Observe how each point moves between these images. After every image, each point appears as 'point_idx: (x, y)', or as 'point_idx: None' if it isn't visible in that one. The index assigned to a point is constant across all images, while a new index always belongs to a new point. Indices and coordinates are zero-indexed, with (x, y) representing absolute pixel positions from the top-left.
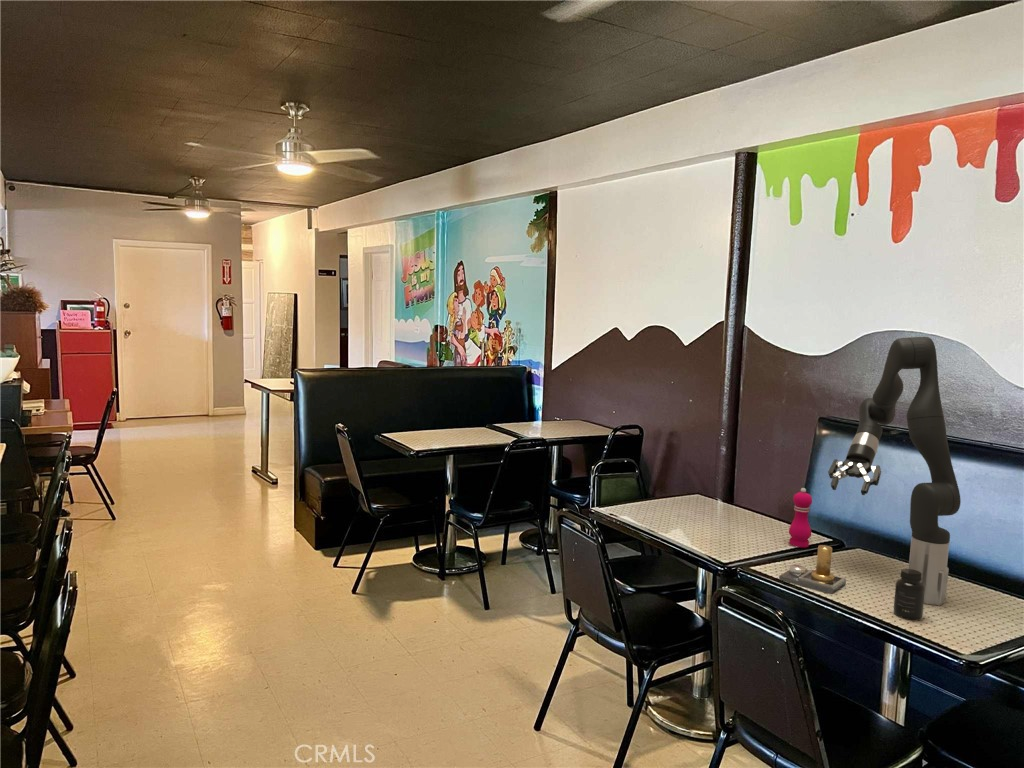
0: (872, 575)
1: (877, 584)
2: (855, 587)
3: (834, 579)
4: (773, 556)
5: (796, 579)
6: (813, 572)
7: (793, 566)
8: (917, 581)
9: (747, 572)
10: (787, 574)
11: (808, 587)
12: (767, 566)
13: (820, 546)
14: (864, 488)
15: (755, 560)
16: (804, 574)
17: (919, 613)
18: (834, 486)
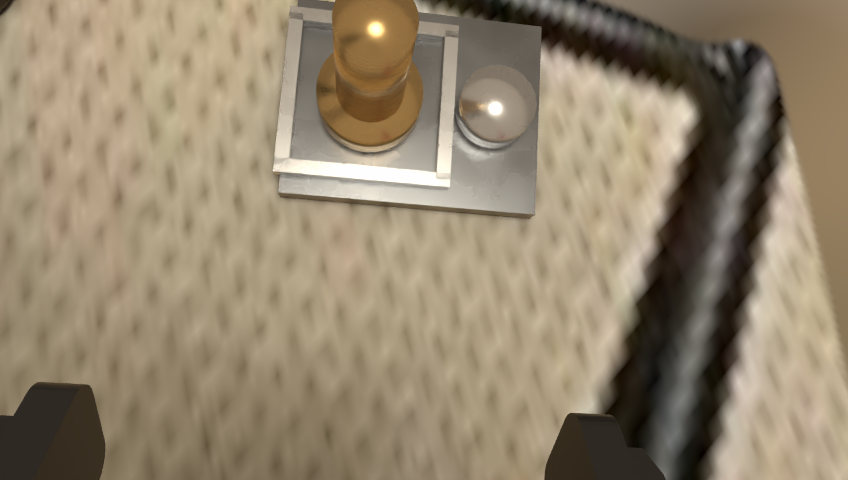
0: (195, 451)
1: (146, 313)
2: (230, 182)
3: (326, 158)
4: (688, 360)
5: (465, 30)
6: (412, 74)
7: (517, 96)
8: None
9: (671, 32)
10: (520, 69)
11: None
12: (644, 178)
13: (403, 11)
14: (2, 448)
15: (720, 225)
16: (451, 82)
17: None
18: (570, 433)
